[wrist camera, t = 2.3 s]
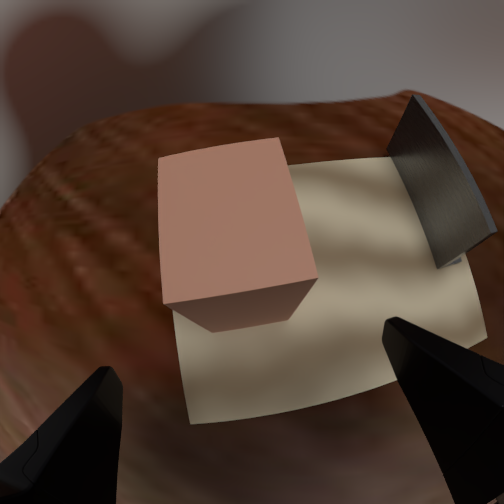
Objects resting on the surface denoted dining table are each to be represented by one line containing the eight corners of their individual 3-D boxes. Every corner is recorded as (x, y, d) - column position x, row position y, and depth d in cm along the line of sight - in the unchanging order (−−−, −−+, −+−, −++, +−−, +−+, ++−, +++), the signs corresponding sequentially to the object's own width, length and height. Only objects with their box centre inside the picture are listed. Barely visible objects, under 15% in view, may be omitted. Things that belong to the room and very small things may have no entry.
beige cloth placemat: (480, 339, 18) (487, 337, 17) (193, 421, 17) (190, 424, 16) (417, 162, 24) (421, 156, 23) (168, 192, 23) (165, 186, 22)
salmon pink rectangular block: (288, 320, 18) (318, 277, 9) (212, 332, 18) (163, 303, 9) (270, 236, 20) (278, 137, 11) (201, 248, 20) (158, 158, 11)
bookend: (459, 262, 19) (511, 227, 13) (437, 269, 19) (490, 232, 13) (408, 148, 24) (437, 97, 17) (386, 148, 23) (412, 94, 17)
